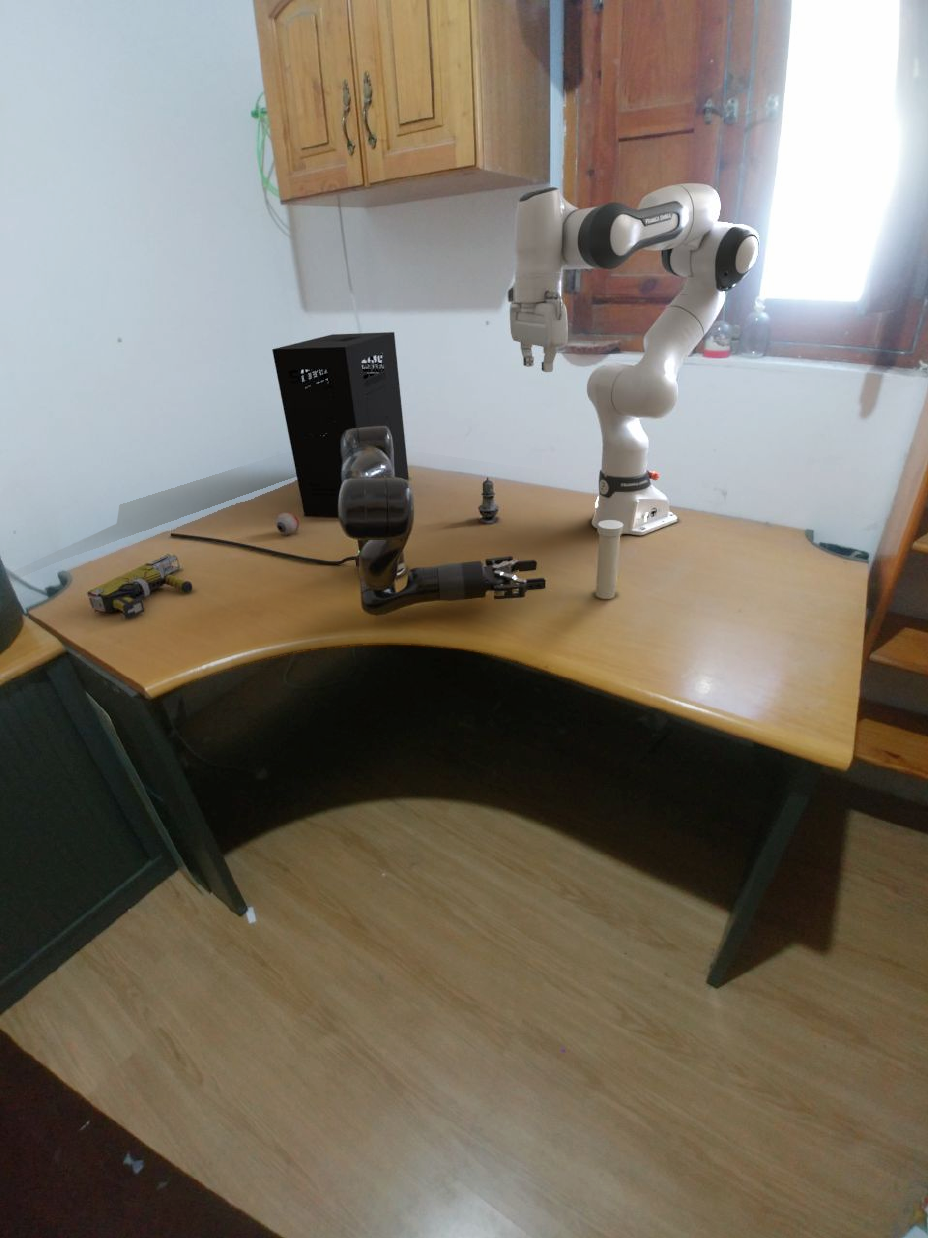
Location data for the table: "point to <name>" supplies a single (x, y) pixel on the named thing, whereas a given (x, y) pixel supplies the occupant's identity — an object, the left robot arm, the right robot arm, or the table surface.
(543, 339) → the right robot arm
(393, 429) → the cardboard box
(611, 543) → the bottle
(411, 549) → the table surface
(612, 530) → the lid
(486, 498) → the grey chess piece
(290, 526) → the eyeball
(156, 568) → the toy gun
